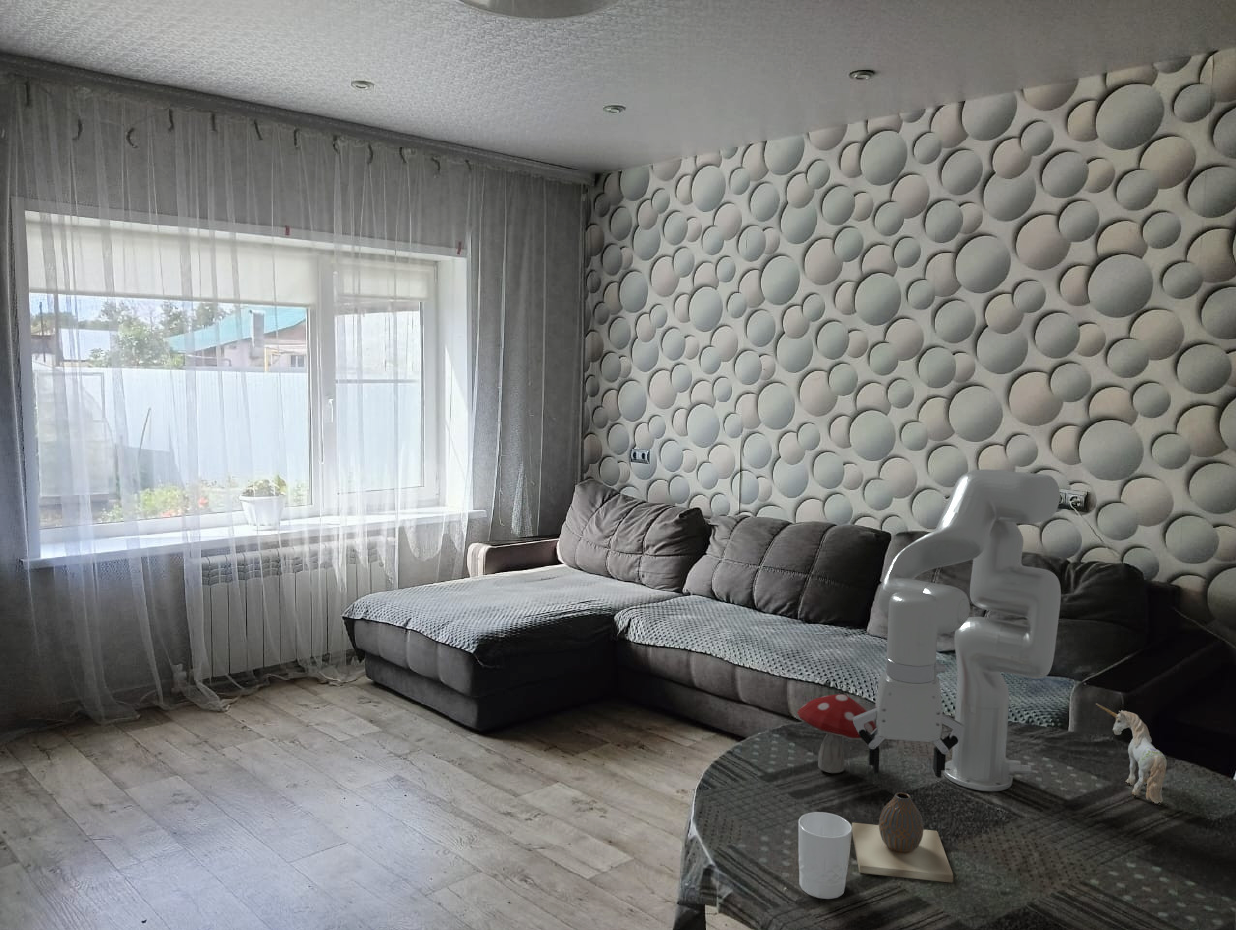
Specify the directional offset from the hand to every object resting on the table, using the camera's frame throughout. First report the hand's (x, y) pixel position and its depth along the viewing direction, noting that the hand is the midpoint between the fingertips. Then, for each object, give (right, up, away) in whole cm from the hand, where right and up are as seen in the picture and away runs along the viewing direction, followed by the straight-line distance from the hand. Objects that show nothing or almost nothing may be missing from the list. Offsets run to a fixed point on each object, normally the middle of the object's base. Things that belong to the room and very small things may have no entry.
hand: (905, 771), depth 150 cm
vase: (-1, -13, +1) cm, 13 cm away
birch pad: (-1, -14, +1) cm, 14 cm away
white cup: (-16, -15, -9) cm, 23 cm away
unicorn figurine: (+50, -13, +27) cm, 58 cm away
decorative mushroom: (-4, -11, +33) cm, 34 cm away
